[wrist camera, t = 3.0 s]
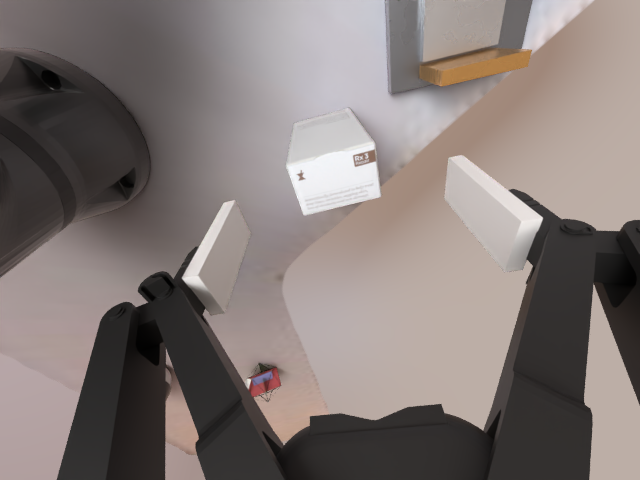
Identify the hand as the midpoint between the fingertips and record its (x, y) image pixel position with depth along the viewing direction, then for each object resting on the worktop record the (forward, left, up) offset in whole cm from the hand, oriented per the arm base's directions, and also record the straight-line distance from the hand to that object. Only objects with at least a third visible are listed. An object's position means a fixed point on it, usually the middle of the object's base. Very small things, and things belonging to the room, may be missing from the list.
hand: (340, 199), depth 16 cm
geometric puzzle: (-23, -47, -14) cm, 54 cm away
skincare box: (0, 0, -14) cm, 14 cm away
